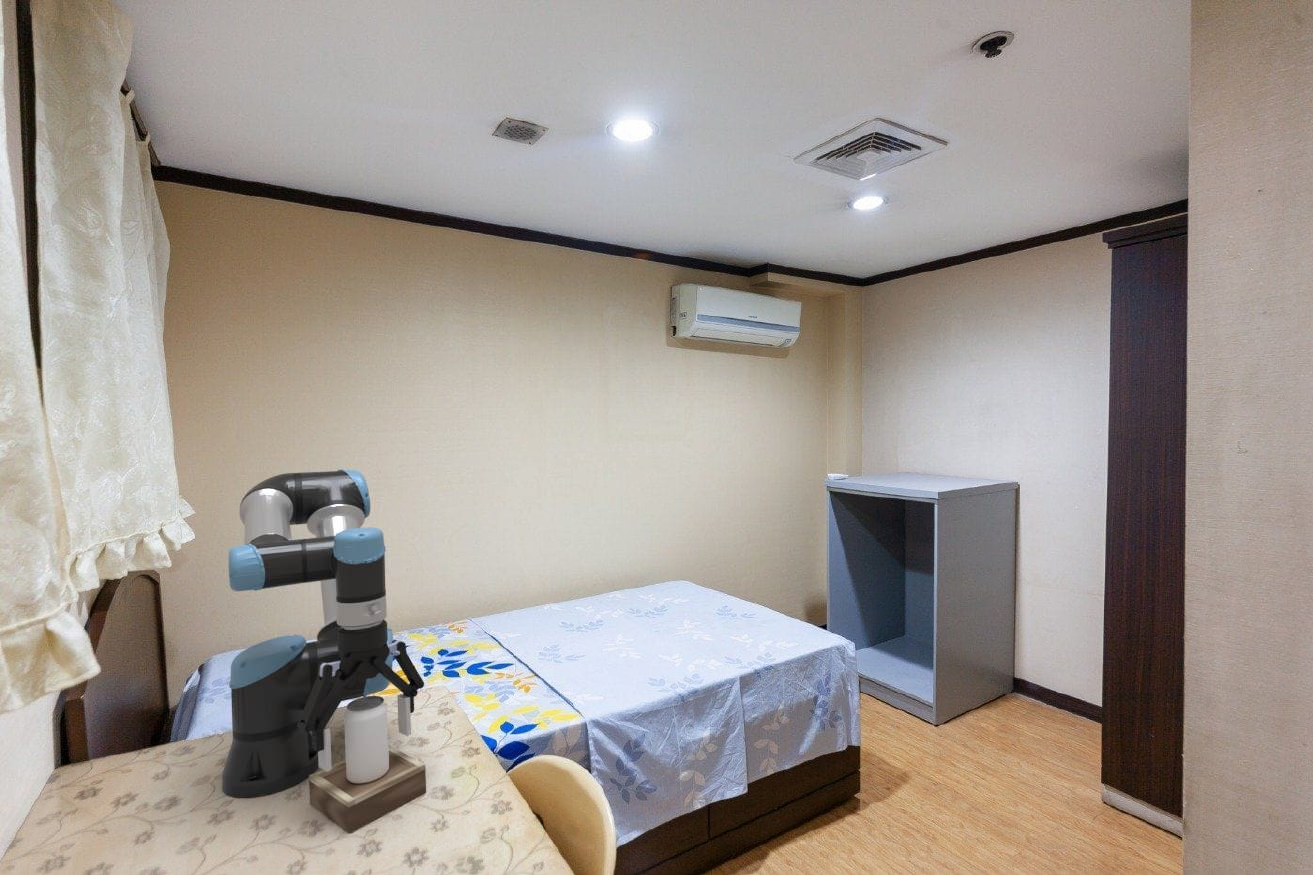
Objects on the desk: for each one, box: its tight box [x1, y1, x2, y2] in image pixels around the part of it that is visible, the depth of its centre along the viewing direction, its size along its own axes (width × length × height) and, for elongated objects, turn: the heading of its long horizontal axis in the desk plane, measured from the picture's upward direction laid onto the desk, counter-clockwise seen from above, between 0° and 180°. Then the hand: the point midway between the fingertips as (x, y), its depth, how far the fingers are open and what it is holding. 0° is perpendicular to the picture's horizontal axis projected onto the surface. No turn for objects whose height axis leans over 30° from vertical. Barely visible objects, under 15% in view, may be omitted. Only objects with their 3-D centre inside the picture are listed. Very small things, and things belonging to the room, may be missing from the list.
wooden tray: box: [308, 744, 427, 834], centre depth 105 cm, size 13×13×5 cm
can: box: [343, 695, 389, 784], centre depth 105 cm, size 6×6×12 cm
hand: (367, 750), depth 105 cm, fingers open, 13 cm apart
